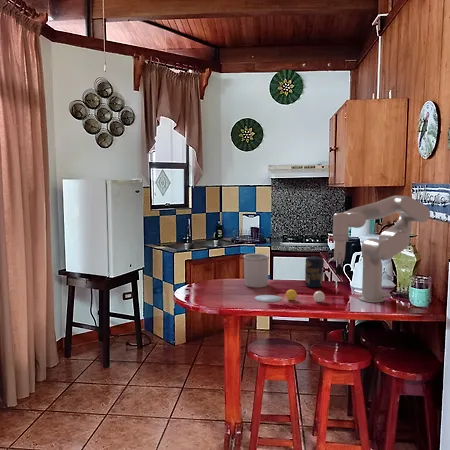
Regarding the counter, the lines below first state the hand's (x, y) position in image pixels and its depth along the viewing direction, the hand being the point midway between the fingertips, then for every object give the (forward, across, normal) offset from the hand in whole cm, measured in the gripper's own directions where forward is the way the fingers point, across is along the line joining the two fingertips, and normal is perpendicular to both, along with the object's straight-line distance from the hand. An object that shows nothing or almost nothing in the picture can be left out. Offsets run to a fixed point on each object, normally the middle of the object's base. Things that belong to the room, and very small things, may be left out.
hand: (339, 274), depth 224 cm
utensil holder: (+15, -29, -48) cm, 58 cm away
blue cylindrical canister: (+15, -33, -14) cm, 39 cm away
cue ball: (+12, 0, -10) cm, 15 cm away
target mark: (+15, 0, -36) cm, 39 cm away
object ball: (+12, 0, -24) cm, 27 cm away
